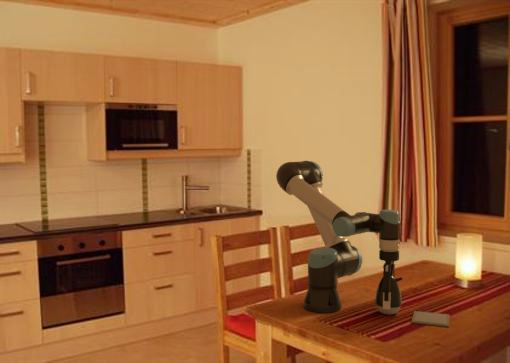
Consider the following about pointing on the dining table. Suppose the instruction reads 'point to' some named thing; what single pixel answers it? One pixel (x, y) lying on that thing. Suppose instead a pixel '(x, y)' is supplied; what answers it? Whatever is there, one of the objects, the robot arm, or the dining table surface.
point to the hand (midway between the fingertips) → (388, 304)
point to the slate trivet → (430, 318)
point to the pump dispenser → (394, 297)
